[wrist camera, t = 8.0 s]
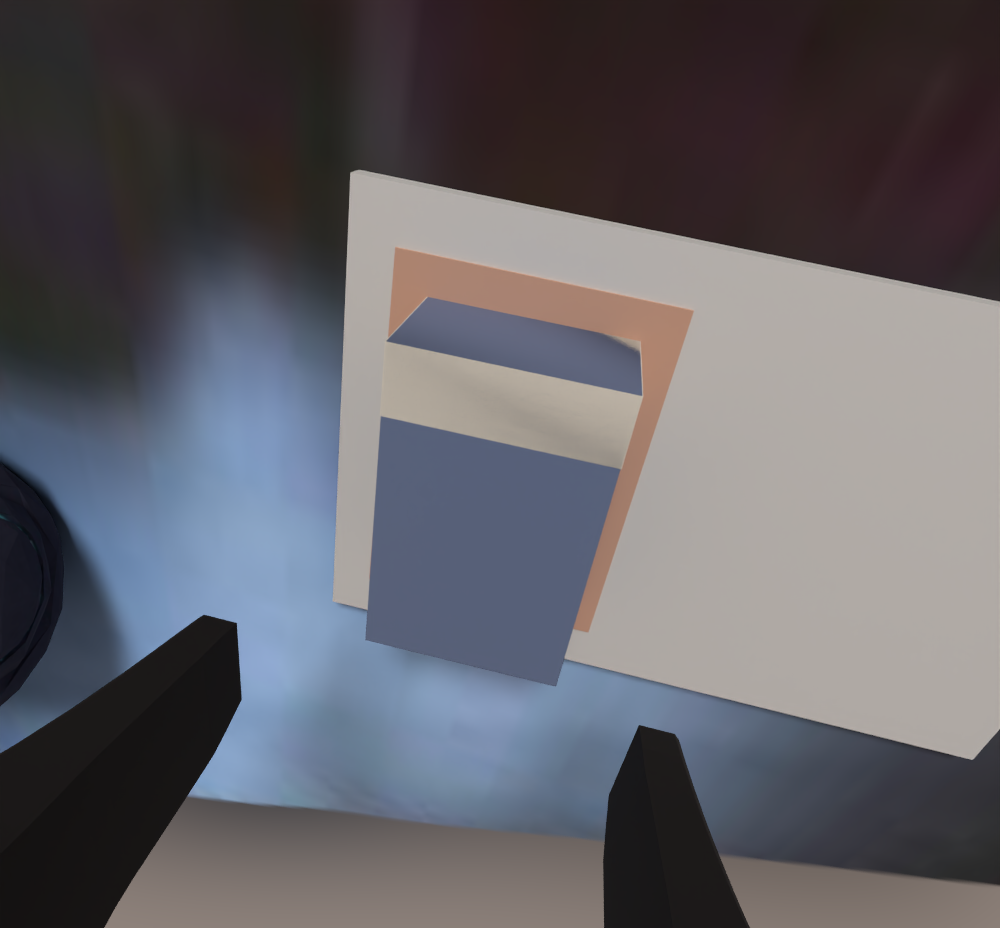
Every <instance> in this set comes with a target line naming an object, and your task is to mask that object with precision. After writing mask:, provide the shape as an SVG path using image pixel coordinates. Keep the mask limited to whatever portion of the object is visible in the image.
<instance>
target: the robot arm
mask: <svg viewBox="0 0 1000 928" xmlns="http://www.w3.org/2000/svg"><path fill="white" fill-rule="evenodd" d="M241 700H242V698H241V682H240V667H239V651H238V636H237V623H234V622H230V621H226V620H222V619H219V618H215V617H211V616H207V615H203V616H201V617H200V618H198V619H197V620H195V621H194V622H192V623H191V624H190V625H188V626H187V627H186V628H184V629H183V630H181V631H180V632H179V633H177V634H176V635H175V636H173V637H172V638H171V639H169V640H168V641H167V642H165V643H164V644H162V645H161V646H160V647H158V648H157V649H156V650H154V651H153V652H152V653H150V654H149V655H147V656H146V657H145V658H143V659H142V660H140V661H139V662H138V663H136V664H135V665H134V666H132V667H131V668H129V669H128V670H127V671H125V672H124V673H122V674H121V675H119V676H118V677H117V678H115V679H114V680H112V681H111V682H109V683H108V684H106V685H105V686H104V687H102V688H101V689H99V690H98V691H96V692H95V693H94V694H92V695H91V696H89V697H88V698H86V699H85V700H83V701H82V702H80V703H79V704H78V705H76V706H75V707H73V708H72V709H70V710H69V711H67V712H65V713H64V714H62V715H61V716H59V717H58V718H56V719H54V720H53V721H51V722H50V723H48V724H47V725H45V726H44V727H42V728H40V729H39V730H37V731H36V732H34V733H33V734H31V735H30V736H28V737H26V738H25V739H23V740H22V741H20V742H19V743H17V744H15V745H14V746H12V747H10V748H9V749H7V750H5V751H4V752H2V753H0V928H104V927H105V925H106V923H107V921H108V919H109V918H110V916H111V914H112V912H113V911H114V909H115V907H116V906H117V904H118V902H119V901H120V899H121V897H122V896H123V894H124V892H125V891H126V889H127V887H128V886H129V884H130V883H131V881H132V879H133V878H134V876H135V875H136V873H137V872H138V870H139V869H140V867H141V866H142V864H143V863H144V861H145V860H146V858H147V856H148V855H149V853H150V852H151V850H152V849H153V847H154V846H155V844H156V843H157V841H158V840H159V838H160V837H161V835H162V834H163V832H164V830H165V829H166V827H167V826H168V824H169V823H170V821H171V820H172V818H173V817H174V815H175V814H176V812H177V811H178V809H179V808H180V806H181V805H182V803H183V802H184V800H185V799H186V797H187V795H188V794H189V792H190V791H191V789H192V788H193V786H194V785H195V783H196V782H197V780H198V778H199V777H200V775H201V774H202V772H203V771H204V769H205V768H206V766H207V764H208V763H209V761H210V760H211V758H212V757H213V755H214V753H215V751H216V749H217V747H218V745H219V744H220V742H221V740H222V738H223V736H224V734H225V732H226V730H227V728H228V726H229V724H230V722H231V720H232V718H233V716H234V714H235V712H236V710H237V708H238V706H239V704H240V702H241ZM603 869H604V928H750V927H749V925H748V923H747V921H746V918H745V916H744V914H743V912H742V909H741V907H740V905H739V903H738V900H737V898H736V895H735V893H734V891H733V888H732V886H731V884H730V881H729V879H728V876H727V874H726V871H725V869H724V867H723V864H722V861H721V859H720V856H719V854H718V851H717V849H716V846H715V844H714V841H713V839H712V836H711V834H710V831H709V828H708V826H707V823H706V820H705V817H704V815H703V812H702V809H701V806H700V803H699V801H698V798H697V795H696V792H695V789H694V786H693V783H692V780H691V777H690V774H689V771H688V768H687V765H686V762H685V759H684V756H683V752H682V749H681V746H680V742H679V740H678V738H677V737H676V735H675V734H672V733H668V732H664V731H660V730H656V729H652V728H648V727H645V726H641V725H639V726H638V729H637V731H636V733H635V736H634V738H633V740H632V743H631V745H630V747H629V750H628V752H627V754H626V757H625V759H624V761H623V764H622V766H621V768H620V771H619V773H618V775H617V778H616V780H615V782H614V785H613V787H612V789H611V792H610V794H609V800H608V811H607V822H606V833H605V845H604V859H603Z"/></svg>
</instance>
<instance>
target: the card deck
mask: <svg viewBox="0 0 1000 928" xmlns="http://www.w3.org/2000/svg"><path fill="white" fill-rule="evenodd" d="M642 399H643V379H642V359H641V341H637V340H632V339H627V338H623V337H618V336H613V335H608V334H603V333H599V332H594V331H589V330H584V329H579V328H575V327H570V326H565V325H560V324H555V323H551V322H546V321H541V320H536V319H531V318H527V317H522V316H517V315H512V314H507V313H503V312H498V311H493V310H488V309H483V308H479V307H474V306H469V305H464V304H459V303H455V302H450V301H445V300H440V299H436V298H431V297H426V298H425V299H424V300H423V301H422V303H421V304H420V305H419V306H418V307H417V308H416V309H415V310H414V311H413V312H412V313H411V314H410V315H409V316H408V317H407V318H406V319H405V320H404V322H403V323H402V324H401V325H400V326H399V327H398V328H397V329H396V330H395V331H394V332H393V333H392V334H391V335H390V336H389V337H388V338H387V340H386V341H385V348H384V363H383V378H382V392H381V407H380V416H381V420H380V435H379V449H378V464H377V479H376V493H375V508H374V522H373V537H372V552H371V566H370V581H369V596H368V610H367V625H366V639H365V640H368V641H372V642H376V643H380V644H384V645H388V646H392V647H397V648H401V649H405V650H409V651H413V652H417V653H421V654H425V655H429V656H433V657H437V658H442V659H446V660H450V661H454V662H458V663H462V664H466V665H470V666H474V667H478V668H482V669H486V670H491V671H495V672H499V673H503V674H507V675H511V676H515V677H519V678H523V679H527V680H531V681H536V682H540V683H544V684H548V685H552V686H556V684H557V681H558V678H559V674H560V671H561V668H562V664H563V661H564V658H565V654H566V651H567V648H568V644H569V641H570V637H571V634H572V631H573V627H574V624H575V621H576V617H577V614H578V611H579V607H580V604H581V601H582V597H583V594H584V590H585V587H586V584H587V580H588V577H589V574H590V570H591V567H592V564H593V560H594V557H595V554H596V550H597V547H598V543H599V540H600V537H601V533H602V530H603V527H604V523H605V520H606V517H607V513H608V510H609V507H610V503H611V500H612V496H613V493H614V490H615V486H616V483H617V480H618V476H619V473H620V470H621V469H622V466H623V463H624V459H625V456H626V453H627V449H628V446H629V443H630V439H631V436H632V433H633V429H634V426H635V423H636V419H637V416H638V413H639V409H640V406H641V403H642Z"/></svg>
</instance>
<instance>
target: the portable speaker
mask: <svg viewBox="0 0 1000 928" xmlns="http://www.w3.org/2000/svg"><path fill="white" fill-rule="evenodd" d="M63 578H64V565H63V557H62V549H61V540H60V536H59V534H58V531H57V529H56V526H55V523H54V521H53V518H52V516H51V515H50V513H49V512H48V510H47V509H46V508H45V506H44V505H43V503H42V502H41V500H40V499H39V498H38V496H37V495H36V493H35V492H34V491H33V490H32V489H31V488H30V487H29V486H27V485H26V484H25V483H24V482H23V481H21V480H20V479H19V478H18V477H17V476H15V475H14V474H13V473H12V472H11V471H9V470H8V469H7V468H6V467H5V466H3V465H2V464H1V463H0V706H1V705H2V704H3V703H4V702H6V701H7V700H8V699H9V698H10V697H11V696H12V695H13V694H14V693H16V692H17V691H18V690H19V689H20V687H21V686H22V685H23V683H24V682H25V680H26V679H27V678H28V676H29V675H30V673H31V672H32V670H33V669H34V668H35V666H36V665H37V663H38V662H39V660H40V659H41V658H42V656H43V655H44V653H45V652H46V650H47V647H48V645H49V642H50V639H51V636H52V634H53V631H54V628H55V626H56V623H57V620H58V618H59V615H60V612H61V610H62V601H63Z"/></svg>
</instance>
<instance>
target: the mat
mask: <svg viewBox="0 0 1000 928" xmlns="http://www.w3.org/2000/svg"><path fill="white" fill-rule="evenodd" d="M426 297H431V298H436V299H440V300H445V301H450V302H455V303H459V304H464V305H469V306H474V307H479V308H483V309H488V310H493V311H498V312H503V313H507V314H512V315H517V316H522V317H527V318H531V319H536V320H541V321H546V322H551V323H555V324H560V325H565V326H570V327H575V328H579V329H584V330H589V331H594V332H599V333H603V334H608V335H613V336H618V337H623V338H627V339H632V340H637V341H641V359H642V379H643V399H642V403H641V406H640V409H639V413H638V416H637V419H636V423H635V426H634V429H633V433H632V436H631V439H630V443H629V446H628V449H627V453H626V456H625V459H624V463H623V466H622V469H621V470H620V473H619V476H618V480H617V483H616V486H615V490H614V493H613V496H612V500H611V503H610V507H609V510H608V513H607V517H606V520H605V523H604V527H603V530H602V533H601V537H600V540H599V543H598V547H597V550H596V554H595V557H594V560H593V564H592V567H591V570H590V574H589V577H588V580H587V584H586V587H585V590H584V594H583V597H582V601H581V604H580V607H579V611H578V614H577V617H576V621H575V624H574V627H573V631H572V634H571V637H570V641H569V644H568V648H567V651H566V654H565V658H564V659H568V660H572V661H576V662H580V663H584V664H588V665H592V666H596V667H600V668H604V669H608V670H612V671H616V672H620V673H624V674H628V675H632V676H636V677H640V678H644V679H648V680H652V681H656V682H660V683H664V684H668V685H672V686H677V687H681V688H685V689H689V690H693V691H697V692H701V693H705V694H709V695H713V696H717V697H721V698H725V699H729V700H733V701H737V702H741V703H745V704H749V705H753V706H757V707H761V708H765V709H769V710H773V711H777V712H781V713H785V714H789V715H794V716H798V717H802V718H806V719H810V720H814V721H818V722H822V723H826V724H830V725H834V726H838V727H842V728H846V729H850V730H854V731H858V732H862V733H866V734H870V735H874V736H878V737H882V738H886V739H890V740H894V741H898V742H902V743H907V744H911V745H915V746H919V747H923V748H927V749H931V750H935V751H939V752H943V753H947V754H951V755H955V756H959V757H963V758H967V759H971V760H973V759H974V758H975V756H976V755H977V754H978V753H979V752H980V751H981V750H982V748H983V747H984V746H985V745H986V744H987V743H988V742H989V741H990V739H991V738H992V737H993V736H994V735H995V734H996V733H997V731H998V730H999V729H1000V302H998V301H993V300H988V299H984V298H979V297H974V296H969V295H964V294H959V293H954V292H950V291H945V290H940V289H935V288H930V287H925V286H921V285H916V284H911V283H906V282H901V281H896V280H891V279H887V278H882V277H877V276H872V275H867V274H862V273H857V272H853V271H848V270H843V269H838V268H833V267H828V266H824V265H819V264H814V263H809V262H804V261H799V260H794V259H790V258H785V257H780V256H775V255H770V254H765V253H761V252H756V251H751V250H746V249H741V248H736V247H731V246H727V245H722V244H717V243H712V242H707V241H702V240H697V239H693V238H688V237H683V236H678V235H673V234H668V233H664V232H659V231H654V230H649V229H644V228H639V227H634V226H630V225H625V224H620V223H615V222H610V221H605V220H600V219H596V218H591V217H586V216H581V215H576V214H571V213H567V212H562V211H557V210H552V209H547V208H542V207H537V206H533V205H528V204H523V203H518V202H513V201H508V200H503V199H499V198H494V197H489V196H484V195H479V194H474V193H470V192H465V191H460V190H455V189H450V188H445V187H440V186H436V185H431V184H426V183H421V182H416V181H411V180H407V179H402V178H397V177H392V176H387V175H382V174H377V173H373V172H368V171H363V170H357V171H354V172H351V174H350V198H349V223H348V247H347V271H346V295H345V320H344V344H343V368H342V392H341V417H340V441H339V465H338V489H337V514H336V538H335V562H334V587H333V601H334V602H338V603H342V604H346V605H350V606H354V607H358V608H362V609H366V610H368V596H369V581H370V566H371V552H372V537H373V522H374V508H375V493H376V479H377V464H378V449H379V435H380V420H381V416H380V407H381V392H382V378H383V363H384V348H385V341H386V340H387V338H388V337H389V336H390V335H391V334H392V333H393V332H394V331H395V330H396V329H397V328H398V327H399V326H400V325H401V324H402V323H403V322H404V320H405V319H406V318H407V317H408V316H409V315H410V314H411V313H412V312H413V311H414V310H415V309H416V308H417V307H418V306H419V305H420V304H421V303H422V301H423V300H424V299H425V298H426Z"/></svg>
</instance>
